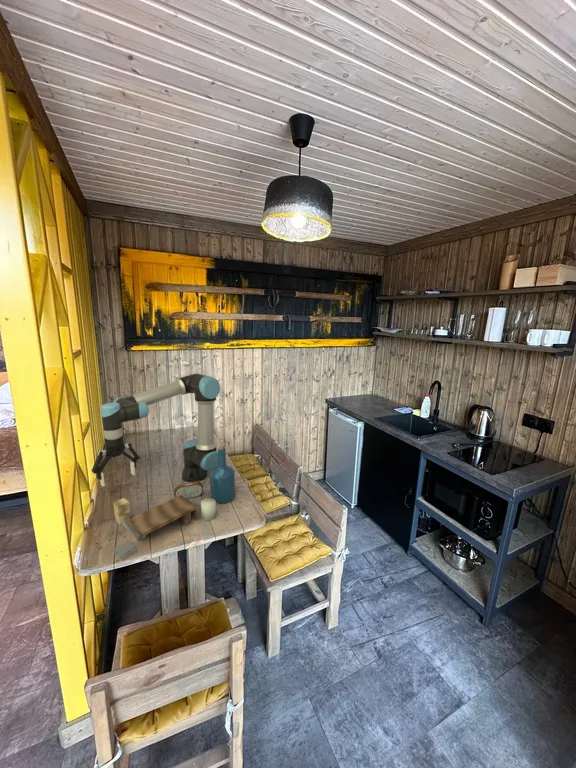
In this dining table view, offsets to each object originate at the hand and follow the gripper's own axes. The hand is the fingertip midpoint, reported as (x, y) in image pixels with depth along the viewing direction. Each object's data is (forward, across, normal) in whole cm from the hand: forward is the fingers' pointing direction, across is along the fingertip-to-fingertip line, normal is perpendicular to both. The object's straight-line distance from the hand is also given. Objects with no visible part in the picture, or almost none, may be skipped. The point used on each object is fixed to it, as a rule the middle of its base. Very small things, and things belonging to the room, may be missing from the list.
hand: (118, 479), depth 149 cm
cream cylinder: (+22, -30, +28) cm, 46 cm away
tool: (+22, 0, +8) cm, 23 cm away
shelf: (+22, -12, +19) cm, 31 cm away
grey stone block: (+22, +8, +23) cm, 33 cm away
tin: (+22, -32, +6) cm, 40 cm away
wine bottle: (+22, -44, +20) cm, 53 cm away
